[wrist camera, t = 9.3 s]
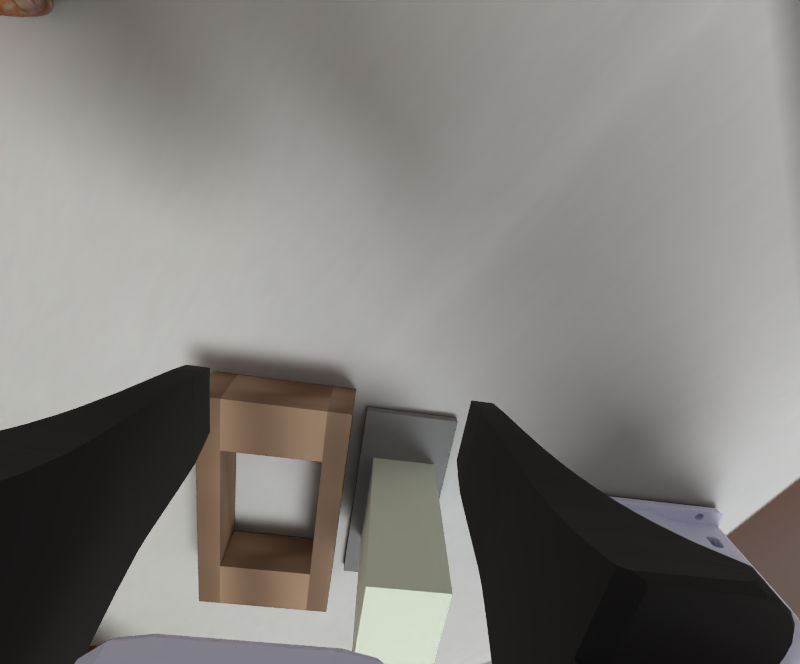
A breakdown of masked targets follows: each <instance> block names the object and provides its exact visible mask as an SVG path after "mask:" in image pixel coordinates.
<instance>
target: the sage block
mask: <svg viewBox="0 0 800 664" xmlns="http://www.w3.org/2000/svg"><path fill="white" fill-rule="evenodd" d="M451 598H452V588H451V580H450V573H449V566H448V559H447V552H446V545H445V538H444V531H443V524H442V517H441V510H440V503H439V496H438V489H437V482H436V475H435V468H434V464H426V463H417V462H408V461H399V460H390V459H381V458H373V464H372V470H371V477H370V483H369V490H368V496H367V503H366V509H365V516H364V522H363V528H362V535H361V546H360V559H359V572H358V584H357V597H356V610H355V623H354V635H353V648H352V651H353V652H356V653H360V654H364V655H368V656H372V657H375V658H378V659H379V660H380V661H382V662H383V663H384V664H433V663H434V660H435V656H436V652H437V649H438V645H439V641H440V638H441V634H442V630H443V627H444V623H445V619H446V616H447V612H448V608H449V605H450V601H451Z"/></svg>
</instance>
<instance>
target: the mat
mask: <svg viewBox="0 0 800 664" xmlns="http://www.w3.org/2000/svg"><path fill="white" fill-rule="evenodd" d="M456 426H457V418H454V417H446V416H437V415H429V414H421V413H413V412H405V411H397V410H388V409H380V408H372V407H367V413H366V420H365V427H364V434H363V441H362V448H361V454H360V461H359V468H358V475H357V482H356V489H355V495H354V502H353V509H352V516H351V523H350V530H349V537H348V543H347V550H346V557H345V564H344V571H354V572H359V559H360V546H361V535H362V528H363V522H364V516H365V509H366V503H367V496H368V490H369V483H370V477H371V470H372V464H373V458H381V459H390V460H399V461H408V462H417V463H426V464H434V468H435V475H436V482H437V489H438V496H439V497H440V493H441V489H442V485H443V480H444V476H445V472H446V468H447V464H448V459H449V455H450V451H451V447H452V443H453V438H454V434H455V430H456Z"/></svg>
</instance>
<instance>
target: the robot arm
mask: <svg viewBox="0 0 800 664" xmlns="http://www.w3.org/2000/svg"><path fill="white" fill-rule="evenodd" d="M209 433H210V368H207V367H199V366H191V365H185V366H181V367H178V368H176V369H173V370H170V371H168V372H165V373H163V374H161V375H158V376H156V377H154V378H151V379H149V380H146V381H144V382H142V383H139V384H137V385H135V386H132V387H130V388H127V389H125V390H123V391H120V392H118V393H115V394H113V395H110V396H107V397H105V398H102V399H100V400H97V401H94V402H92V403H89V404H86V405H84V406H81V407H79V408H76V409H73V410H70V411H67V412H64V413H61V414H58V415H55V416H52V417H48V418H45V419H42V420H38V421H35V422H31V423H28V424H25V425H21V426H17V427H13V428H9V429H5V430H1V431H0V664H384V663H383V662H382V661H380V660H379V659H378V658H375V657H372V656H368V655H364V654H360V653H356V652H353V651H349V650H345V649H339V648H326V647H314V646H301V645H289V644H276V643H264V642H251V641H239V640H226V639H214V638H201V637H189V636H176V635H164V634H149V635H139V636H128V637H118V638H115V639H112V640H109V641H106V642H105V643H103V644H101V645H100V646H98V647H97V648H95V649H93V650H92V651H90V652H88V653H87V654H86V652H87V650H88V648H89V645H90V643H91V641H92V639H93V637H94V635H95V633H96V631H97V629H98V627H99V625H100V623H101V621H102V619H103V617H104V615H105V613H106V611H107V609H108V607H109V605H110V603H111V601H112V599H113V597H114V595H115V593H116V591H117V589H118V587H119V585H120V584H121V582H122V580H123V578H124V576H125V574H126V572H127V570H128V569H129V567H130V565H131V563H132V561H133V559H134V557H135V555H136V553H137V552H138V550H139V548H140V547H141V545H142V543H143V542H144V540H145V539H146V537H147V535H148V534H149V532H150V531H151V529H152V528H153V526H154V525H155V523H156V522H157V520H158V519H159V517H160V516H161V514H162V513H163V511H164V510H165V508H166V507H167V505H168V504H169V502H170V501H171V499H172V498H173V496H174V495H175V493H176V492H177V490H178V489H179V487H180V486H181V484H182V483H183V481H184V480H185V478H186V477H187V475H188V474H189V472H190V471H191V469H192V467H193V466H194V464H195V463H196V461H197V459H198V457H199V455H200V453H201V450H202V448H203V446H204V444H205V442H206V440H207V437H208V435H209ZM457 468H458V479H459V487H460V494H461V499H462V503H463V507H464V511H465V516H466V520H467V524H468V528H469V532H470V536H471V540H472V544H473V548H474V552H475V556H476V560H477V564H478V569H479V574H480V579H481V584H482V590H483V597H484V605H485V612H486V619H487V627H488V635H489V643H490V651H491V660H492V664H800V620H799V619H798V617H797V616H796V615H795V614H794V612H793V611H792V610H791V609H790V607H789V606H788V605H787V604H786V603H785V602H784V601H783V600H782V598H781V597H780V596H779V595H778V594H777V593H776V592H775V591H774V590H773V588H772V587H771V586H770V585H769V584H768V583H767V582H766V580H765V579H764V578H763V577H762V576H761V575H760V574H759V573H758V571H757V570H756V569H755V568H754V567H753V566H752V565H751V563H750V562H749V561H748V560H747V559H746V558H745V557H744V556H743V555H742V553H741V552H740V551H739V550H738V549H737V548H736V547H735V546H734V544H733V543H732V542H731V541H730V540H729V539H728V538H727V537H726V535H725V534H724V533H723V532H722V531H721V530H720V529H719V528H718V525H719V523H720V521H721V520H722V514H721V513H720V512H719V511H718V510H717V509H715V508H709V507H700V506H691V505H682V504H673V503H664V502H655V501H646V500H637V499H628V498H619V497H610V496H607V495H606V494H604V493H602V492H601V491H599V490H598V489H596V488H595V487H593V486H592V485H591V484H589V483H588V482H586V481H585V480H583V479H582V478H580V477H579V476H577V475H576V474H575V473H573V472H572V471H571V470H569V469H568V468H567V467H565V466H564V465H563V464H562V463H560V462H559V461H558V460H557V459H555V458H554V457H553V456H552V455H551V454H549V453H548V452H547V451H546V450H545V449H543V448H542V447H541V446H540V445H539V444H538V443H536V442H535V441H534V440H533V439H532V438H531V437H530V436H529V435H528V434H526V433H525V432H524V431H523V430H522V429H521V428H520V427H519V426H518V425H517V424H516V423H515V422H513V421H512V420H511V419H510V418H509V417H508V416H507V415H506V414H505V413H504V412H503V411H501V410H500V409H499V408H498V407H497V406H495V405H494V404H493V403H486V402H478V401H471V405H470V409H469V413H468V417H467V421H466V425H465V429H464V433H463V437H462V441H461V445H460V449H459V453H458V458H457Z"/></svg>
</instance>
